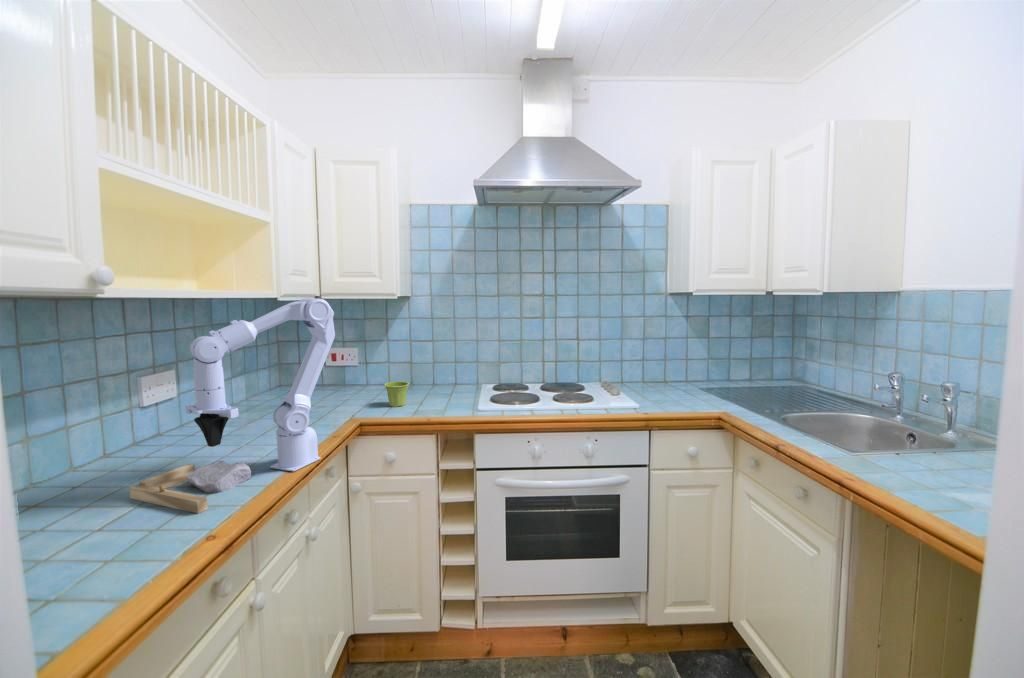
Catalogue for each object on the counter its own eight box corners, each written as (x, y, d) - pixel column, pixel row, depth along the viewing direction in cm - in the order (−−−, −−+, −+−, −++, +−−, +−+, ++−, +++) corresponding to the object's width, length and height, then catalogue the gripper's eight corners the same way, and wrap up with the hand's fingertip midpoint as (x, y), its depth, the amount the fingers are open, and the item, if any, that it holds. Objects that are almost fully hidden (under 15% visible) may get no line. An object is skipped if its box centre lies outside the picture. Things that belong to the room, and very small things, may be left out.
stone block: (220, 502, 101) (256, 476, 110) (214, 484, 100) (251, 459, 109) (182, 497, 105) (220, 472, 114) (175, 479, 103) (214, 456, 112)
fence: (189, 475, 111) (188, 461, 111) (253, 487, 104) (252, 472, 104) (130, 498, 99) (128, 482, 98) (198, 513, 92) (196, 496, 91)
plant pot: (412, 402, 183) (412, 381, 182) (405, 408, 174) (404, 386, 173) (390, 402, 184) (389, 381, 183) (381, 408, 175) (380, 386, 174)
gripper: (170, 389, 102) (175, 447, 104) (216, 394, 98) (220, 454, 99) (200, 383, 109) (205, 437, 110) (245, 387, 104) (249, 444, 106)
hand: (214, 445), depth 105 cm, fingers closed
